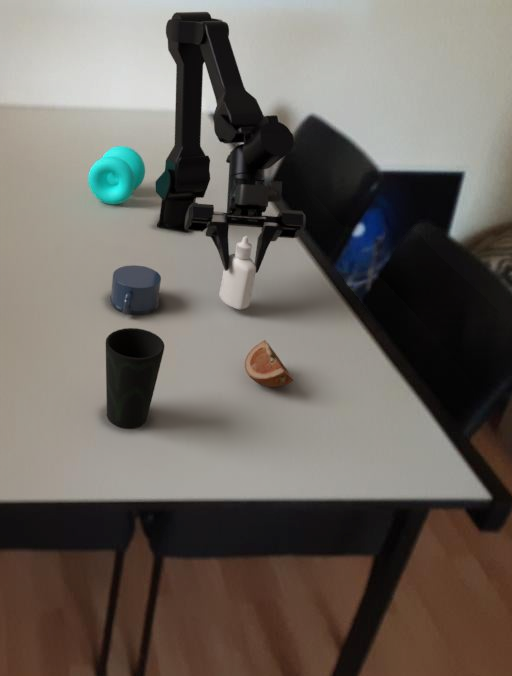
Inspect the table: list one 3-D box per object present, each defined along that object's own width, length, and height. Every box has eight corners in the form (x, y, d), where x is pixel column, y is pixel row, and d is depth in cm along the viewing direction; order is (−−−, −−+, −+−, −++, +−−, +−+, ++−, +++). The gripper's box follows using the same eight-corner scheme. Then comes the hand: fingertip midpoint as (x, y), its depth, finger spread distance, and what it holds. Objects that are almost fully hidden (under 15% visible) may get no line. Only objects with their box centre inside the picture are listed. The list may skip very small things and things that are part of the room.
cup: (95, 400, 120) (102, 328, 113) (149, 399, 121) (158, 327, 114) (103, 434, 114) (110, 359, 107) (159, 432, 114) (169, 358, 108)
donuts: (85, 201, 178) (88, 155, 173) (100, 185, 186) (104, 140, 180) (130, 210, 175) (134, 163, 170) (144, 193, 183) (149, 148, 177)
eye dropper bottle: (242, 294, 145) (255, 229, 138) (250, 310, 140) (263, 245, 133) (217, 293, 144) (228, 229, 137) (224, 310, 140) (236, 244, 133)
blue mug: (117, 287, 148) (119, 261, 145) (163, 296, 146) (167, 270, 143) (100, 314, 140) (102, 287, 137) (149, 324, 138) (152, 297, 135)
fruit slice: (298, 398, 122) (305, 369, 119) (253, 400, 122) (259, 371, 119) (278, 366, 129) (285, 338, 126) (236, 367, 128) (241, 339, 125)
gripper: (196, 155, 132) (190, 250, 130) (317, 163, 131) (313, 260, 129) (187, 183, 143) (181, 272, 141) (298, 191, 142) (294, 281, 140)
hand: (241, 271), depth 137 cm, fingers closed on eye dropper bottle, 4 cm apart
